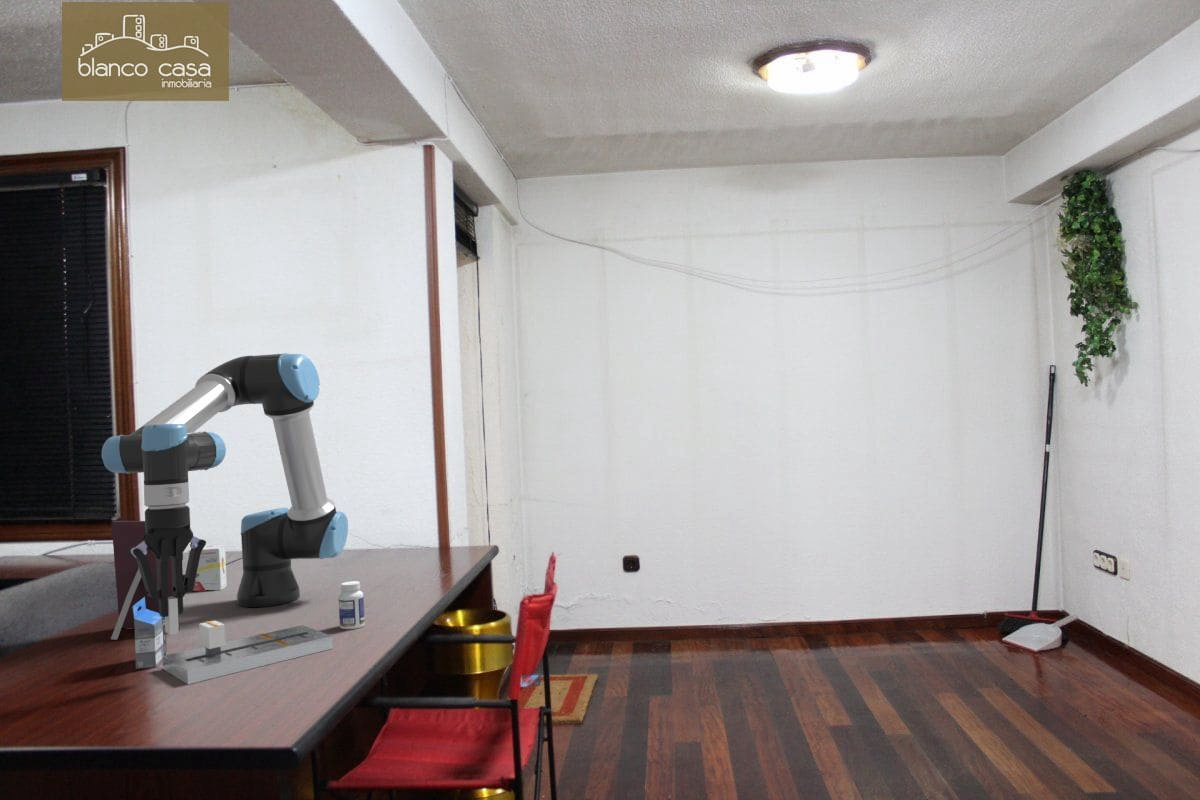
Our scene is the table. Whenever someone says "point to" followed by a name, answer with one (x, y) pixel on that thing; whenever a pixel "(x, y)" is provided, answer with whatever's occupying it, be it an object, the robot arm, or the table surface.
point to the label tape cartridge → (148, 636)
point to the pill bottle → (351, 606)
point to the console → (247, 653)
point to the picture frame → (132, 573)
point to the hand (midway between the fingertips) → (172, 632)
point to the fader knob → (212, 637)
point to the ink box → (211, 569)
